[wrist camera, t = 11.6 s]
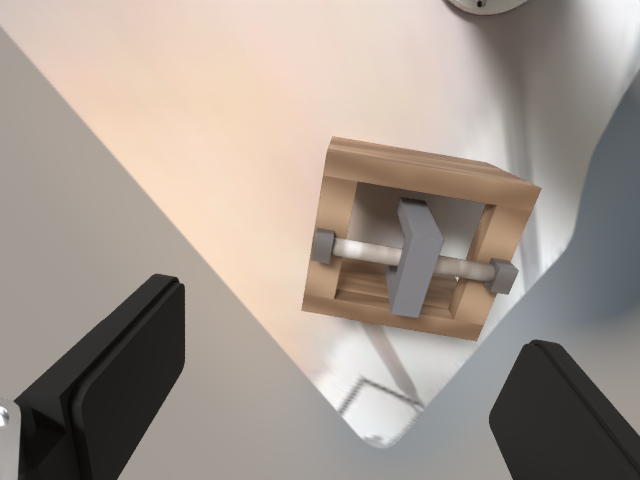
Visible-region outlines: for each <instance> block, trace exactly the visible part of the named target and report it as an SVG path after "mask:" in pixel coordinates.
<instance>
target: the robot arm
mask: <svg viewBox="0 0 640 480" xmlns="http://www.w3.org/2000/svg"><path fill="white" fill-rule="evenodd" d="M448 1H450V2H451V3H452V4H453V5H454V6H456V7H457V8H459V9H461V10H463V11H465V12H468V13H473V14H477V15H493V14H498V13H502V12H506V11H508V10H510V9H513V8H515V7H517V6H519V5H521V4H522V3H524V2H526V1H528V0H448ZM478 2H480V3H481V6H480V7H478V6H477V3H478ZM184 363H185V286H184V284H181V283H179V280H178V278H177V277H173V276H167V275H162V274H154V275H152V276H151V277H150V278H149V279H148V280H147V281H146V282H145V283H144V284H142V285H141V286H140V287H139V288H138V289H137V290H136V291H135V292H134V293H133V294H132V295H130V296H129V297H128V298H127V299H126V300H125V301H124V302H123V303H122V304H121V305H119V306H118V307H117V308H116V309H115V310H114V311H113V312H112V313H111V314H110V315H109V316H107V317H106V318H105V319H104V320H102V321H101V322H100V323H99V324H98V325H96V326H95V327H94V328H93V329H92V330H91V331H90V332H89V333H88V334H86V335H85V336H84V337H83V338H82V339H81V340H80V341H79V342H78V343H77V344H76V345H74V346H73V347H72V348H71V349H70V350H69V351H68V352H67V353H66V354H65V355H63V356H62V357H61V358H60V359H59V360H58V361H57V362H56V363H55V364H54V365H52V366H51V367H50V368H49V369H48V370H47V371H46V372H45V373H44V374H43V375H42V376H40V377H39V378H38V379H37V380H36V381H35V382H34V383H33V384H32V385H31V386H29V387H28V388H27V389H26V390H25V391H24V392H23V393H22V394H21V395H20V396H19V397H17V398H16V399H15V400H14V401H12V400H8V399H4V398H0V480H117V479H118V477H119V475H120V474H121V472H122V470H123V469H124V467H125V465H126V464H127V462H128V460H129V459H130V457H131V455H132V454H133V452H134V451H135V449H136V447H137V446H138V444H139V442H140V441H141V439H142V437H143V436H144V434H145V432H146V431H147V429H148V427H149V425H150V424H151V422H152V421H153V419H154V417H155V416H156V414H157V412H158V411H159V409H160V407H161V406H162V404H163V402H164V401H165V399H166V397H167V395H168V394H169V392H170V391H171V389H172V387H173V386H174V384H175V382H176V380H177V379H178V377H179V375H180V374H181V372H182V370H183V367H184ZM489 424H490V428H491V430H492V432H493V435H494V437H495V439H496V441H497V444H498V446H499V448H500V451H501V453H502V455H503V458H504V460H505V462H506V464H507V467H508V469H509V471H510V474H511V476H512V478H513V480H640V436H639V435H638V434H637V433H636V431H635V430H634V429H633V428H632V427H631V426H630V424H629V423H628V422H627V421H626V420H625V419H624V418H623V416H622V415H621V414H620V413H619V412H618V411H617V410H616V409H615V407H614V406H613V405H612V404H611V402H610V401H609V400H608V399H607V398H606V397H605V396H604V394H603V393H602V392H601V391H600V390H599V389H598V387H596V385H595V384H594V383H593V382H592V381H591V379H590V378H589V377H588V376H587V375H586V374H585V372H584V371H583V370H582V369H581V368H580V367H579V365H577V364H576V362H575V361H574V360H573V358H571V356H570V355H569V354H568V353H567V352H566V350H565V349H564V348H563V347H562V346H561V345H560V344H557V343H553V342H548V341H542V340H532V341H531V342H530V343H529V344H525V345H524V346H523V348H522V350H521V352H520V354H519V356H518V358H517V360H516V362H515V364H514V366H513V368H512V370H511V372H510V374H509V376H508V378H507V380H506V382H505V384H504V386H503V388H502V390H501V392H500V394H499V396H498V398H497V400H496V402H495V404H494V406H493V408H492V410H491V412H490V415H489Z"/></svg>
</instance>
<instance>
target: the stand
mask: <svg viewBox="0 0 640 480" xmlns="http://www.w3.org/2000/svg"><path fill="white" fill-rule="evenodd" d="M358 181H359V182H365V183H371V184H376V185H382V186H388V187H394V188H400V189H406V190H411V191H417V192H423V193H429V194H435V195H441V196H447V197H452V198H458V199H464V200H470V201H476V202H482V203H486V206H485V208H484V211H483V214H482V217H481V219H480V222H479V225H478V227H477V230H476V233H475V236H474V238H473V241H472V244H471V247H470V249H469V252H468V255H467V258H466V260H462V259H457V258H451V257H445V256H438V259H437V262H436V265H435V268H434V271H433V274H432V277H431V280H430V283H429V286H428V289H427V292H426V296H425V299H424V302H423V305H422V308H421V311H420V314H419V317H418V318H415V317H408V316H401V315H394V314H391V309H390V303H389V296H388V289H387V282H386V275H385V268H384V264H387V265H393V266H398V264H399V261H400V257H401V253H402V249H399V248H393V247H387V246H381V245H375V244H370V243H364V242H358V241H352V240H346V237H347V232H348V227H349V222H350V217H351V212H352V208H353V203H354V198H355V193H356V188H357V183H358ZM540 191H541V188H540V187H538V186H535V185H533V184H531V183H529V182H527V181H525V180H523V179H521V178H518V177H516V176H514V175H512V174H510V173H508V172H506V171H503V170H501V169H499V168H497V167H495V166H493V165H491V164H488V163H486V162H480V161H474V160H468V159H462V158H456V157H451V156H445V155H439V154H433V153H427V152H421V151H415V150H409V149H404V148H398V147H392V146H386V145H380V144H374V143H368V142H362V141H357V140H351V139H345V138H339V137H332V139H331V142H330V145H329V147H328V150H327V154H326V161H325V167H324V173H323V179H322V186H321V192H320V198H319V204H318V211H317V217H316V223H315V229H314V236H313V242H312V248H311V254H310V261H309V267H308V273H307V279H306V286H305V292H304V298H303V304H302V311H306V312H312V313H318V314H323V315H329V316H335V317H341V318H346V319H352V320H358V321H364V322H369V323H375V324H381V325H387V326H392V327H398V328H404V329H410V330H415V331H421V332H427V333H433V334H438V335H444V336H450V337H456V338H461V339H467V340H473V341H477V339H478V337H479V335H480V332H481V330H482V328H483V325H484V323H485V320H486V318H487V316H488V313H489V311H490V309H491V306H492V304H493V302H494V299H495V297H496V295H497V293H501V294H507V295H508V294H509V292H510V290H511V288H512V285H513V283H514V281H515V279H516V276H517V274H518V272H519V271H518V270H517V269H516V268H515V267H514V266H513V265H512V264H511V263H510V262H511V259H512V257H513V254H514V252H515V250H516V247H517V245H518V243H519V240H520V238H521V236H522V233H523V231H524V229H525V226H526V224H527V221H528V219H529V217H530V214H531V212H532V210H533V207H534V205H535V203H536V200H537V198H538V196H539V193H540ZM454 276H456V277H459V280H458V282H457V280H456V278H455V277H454Z"/></svg>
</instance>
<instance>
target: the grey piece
mask: <svg viewBox="0 0 640 480" xmlns="http://www.w3.org/2000/svg"><path fill="white" fill-rule="evenodd" d="M397 212H398V216H399V220H400V223H401V227H402V230H403V234H404V237H405V242H404V246H403V249H402V253H401V257H400V261H399V264H398V266H393V265H387V264H384V268H385V275H386V282H387V289H388V296H389V303H390V309H391V314H394V315H401V316H408V317H415V318H418V317H419V314H420V311H421V308H422V305H423V302H424V299H425V296H426V292H427V289H428V286H429V283H430V280H431V277H432V274H433V271H434V268H435V265H436V262H437V259H438V256H439V253H440V250H441V247H442V244H443V241H444V238H443V236H442V234H441V232H440V230H439V228H438V226H437V224H436V222H435V220H434V218H433V216H432V214H431V212H430V210H429V208H428V206H427V204H426V202H425V201H423V200H416V199H409V198H400V202H399V206H398V210H397Z"/></svg>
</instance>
